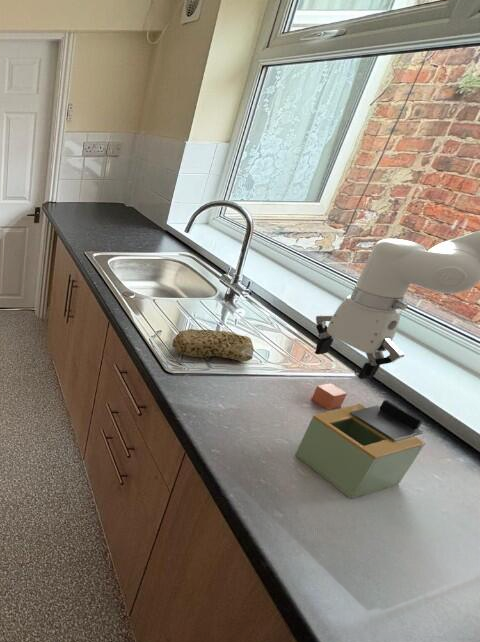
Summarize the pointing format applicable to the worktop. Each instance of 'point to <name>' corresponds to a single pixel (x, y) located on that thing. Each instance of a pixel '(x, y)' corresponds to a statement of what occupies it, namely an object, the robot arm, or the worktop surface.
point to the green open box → (355, 453)
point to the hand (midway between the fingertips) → (341, 364)
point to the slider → (390, 420)
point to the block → (329, 396)
